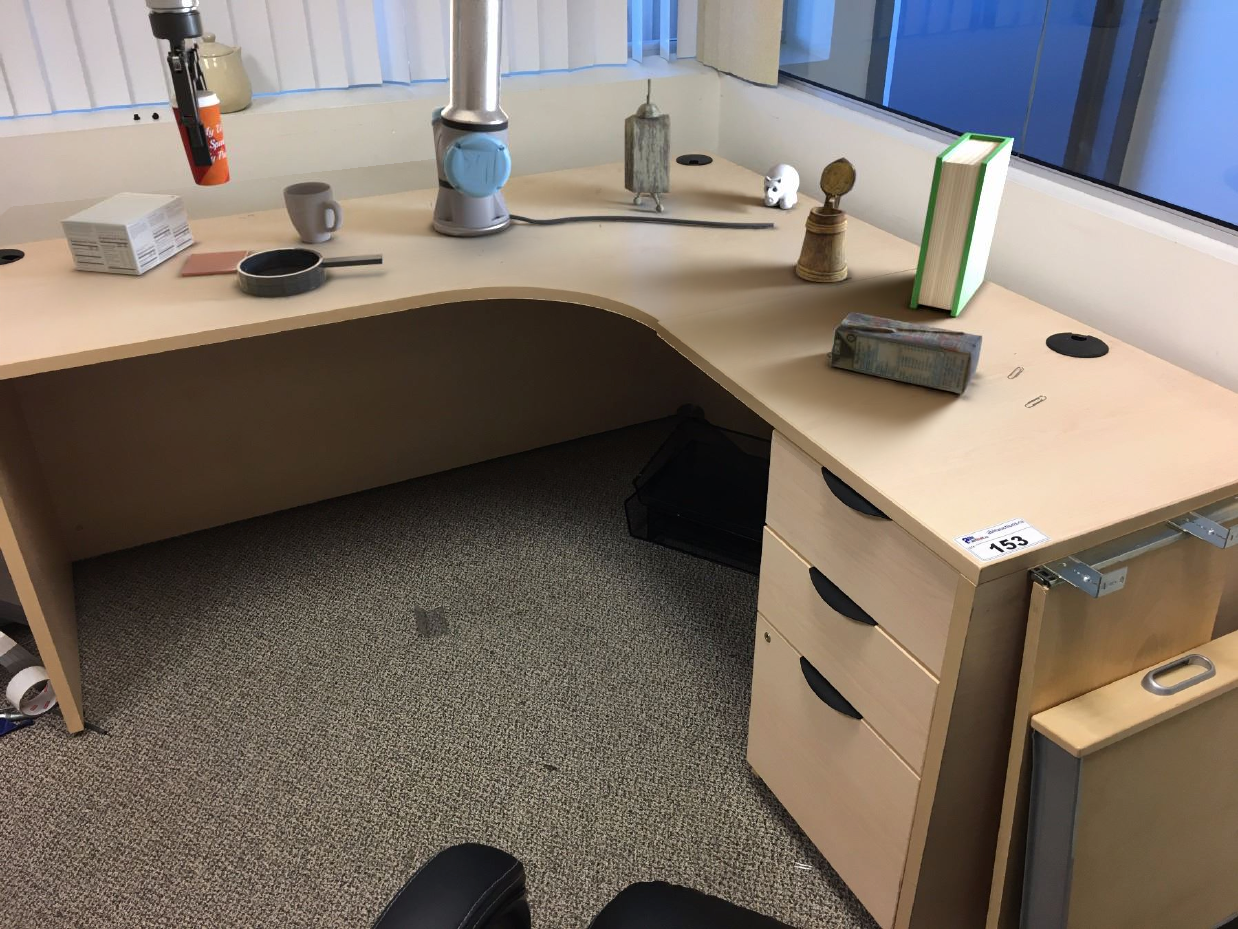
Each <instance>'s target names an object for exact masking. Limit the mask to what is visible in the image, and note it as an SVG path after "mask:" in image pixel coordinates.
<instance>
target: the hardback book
mask: <svg viewBox="0 0 1238 929" xmlns="http://www.w3.org/2000/svg"><path fill="white" fill-rule="evenodd" d="M1014 140H1015V139H1014V137H1007V136H999V135H998V136H997V135H989V134H982V133H981V134H980V133H973V132H965V133H964V134H962V135H961V136H960V137H959V138H958V139H957V140H955V141H954V142H953V143H952V144H950V146H948V147H947V148H946V149H944V150H943V151H942V152H941V153H939V154H938V155H937V156H936V158H935V164H934V170H933V175H932V181H931V187H930V192H929V196H928V197H929V198H928V203H927V209H926V214H925V220H924V226H923V231H922V237H921V243H920V248H919V255H918V260H917V265H916V272H915V277H914V283H913V287H912V288H913V289H912V293H911V300H910V304H909V308H911V309H917V308H918V307H919V306H920V305H923V306H928V307H934V308H938V309H943V310H948V311H951V312H950V314H949V316H950V317H954V318H957V317H958V315H959V314H960V313H961V311H962V310H963V309H964V307H965V306H966V304H967V303H968V302H969V301H970V299H971V298H972V296H973V295H974V294H975V293H976V291H977V290H978V289H979V287H980V286H981V285H982V283H983V281H984V278H985V277H984V276H985V273H986V272H985V271H986V267H987V263H988V259H989V253H990V249H991V244H992V240H993V236H994V230H995V225H996V222H997V217H998V212H999V207H1000V203H1001V199H1002V194H1003V190H1004V185H1005V181H1006V176H1007V171H1008V166H1009V161H1010V157H1011V152H1012V149H1013V143H1014Z"/></svg>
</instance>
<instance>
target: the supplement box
mask: <svg viewBox="0 0 1238 929" xmlns="http://www.w3.org/2000/svg"><path fill="white" fill-rule="evenodd" d="M189 222H190V221H189V218H188V215H187V210H186V207H185V203H184V200H183V196H181V195H174V194H159V193H158V194H156V193H141V192H140V193H139V192H127V191H124V192H122V191H121V192H119V193H116V194H115V195H112V196H110V197H108V198H106V199H104V200H102V201H100V202H98V203H95V204H94V205H91V206H90V207H87V208H85V209H83V210H81V211H79V212H77V213H74V214H72V215H70V216H68V217H66V218H63V219H61V220H60V224H61V227H62V230H63V232H64V235H65V238H66V241H67V245H68V248H69V250H70V253H71V256H72V259H73V262H74V264H75V268H76V270H77V271H85V272H86V271H87V272H98V273H108V274H110V273H111V274H120V275H121V274H123V275H133V276H141V275H143V274H144V273H146V272H148V271H149V270H151V269H152V268H154V267H156V266H157V265H159V264H161V263H163V262H165V261H166V260H168V259H169V258H171V257H173V256H174V255H176V254H178V253H179V252H181V251H183V250H184V249H186V248H188V247H189V246H191V245H193V244H194V243H195V240H194V236H193V233H192V229H191V226H190V223H189Z"/></svg>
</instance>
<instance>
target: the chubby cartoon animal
mask: <svg viewBox="0 0 1238 929" xmlns="http://www.w3.org/2000/svg"><path fill="white" fill-rule="evenodd" d="M799 185H800V177H799V174H798V172H797V170H796V169H795V168H794V167H792V166H791V165H789V164H785V163H780V164H776V165H774V166H771V168H770V169H769V170H767V172H766V174H765V176H764V179H763V193H764V205H765V206H767V207H775V206H777V204H779V208H780V209H783V210H787V209H792V207H793V205H795V204H797V202H798V199H797V198H798V197H797V193H796V192H797V191H798V189H799Z"/></svg>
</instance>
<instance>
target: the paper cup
mask: <svg viewBox="0 0 1238 929" xmlns="http://www.w3.org/2000/svg"><path fill="white" fill-rule="evenodd" d="M197 97H198V104H199V110H200V117H201V121H202V123H201V124H204V128H205V132H206V137H207V141H208V145H209V150H210V154H211V159H212V163H213V165H212V166H202V167H195V166H194V161H193V157H192V153H191V149H190V145H189V140H188V136H187V132H186V128H185V126H180V125H179V122H178V121H180V115H179V110H178V105H177V100H176V95H175V93H172V94H170V99H169V100H170V101H169V103H168V106H169V107H171V109H172V112H173V115H174V119H175V122H176V125H177V129H178V132H179V135H180V138H181V142H182V145H183V149H184V152H185V155H186V160H187V162H188V165H189V169H190V171H191V175H192V178H193V180H194V182H195V184H196V185H197V186H203V187H211V186H220V185H224V184H227V183H229V182H230V180H231V177H230V170H229V163H228V157H227V151H226V150H227V149H226V144H225V136H224V132H223V126H222V125H223V124H222V120H221V112H220V106H219V103H220V102H221V101H220V99H219V98H218V97H217V94H216V93H215V92H214V91H211V90H209V91H201V90H199V91H197ZM187 116H192V115H187Z"/></svg>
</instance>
